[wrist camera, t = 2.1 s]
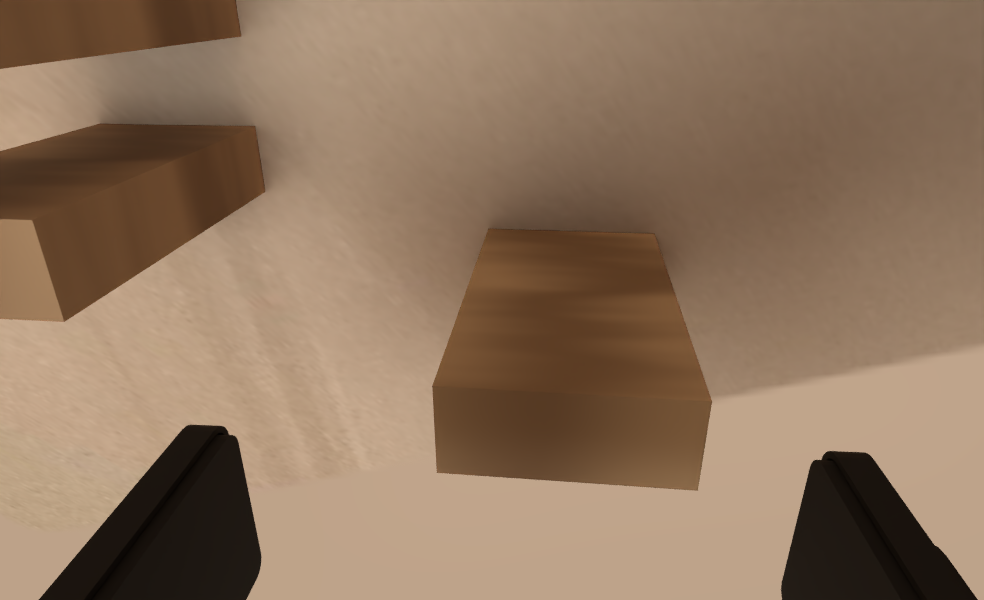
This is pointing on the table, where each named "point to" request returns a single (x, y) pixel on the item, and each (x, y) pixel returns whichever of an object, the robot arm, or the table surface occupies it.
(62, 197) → the domino
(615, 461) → the domino
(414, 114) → the table surface
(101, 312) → the table surface
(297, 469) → the table surface
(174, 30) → the domino
